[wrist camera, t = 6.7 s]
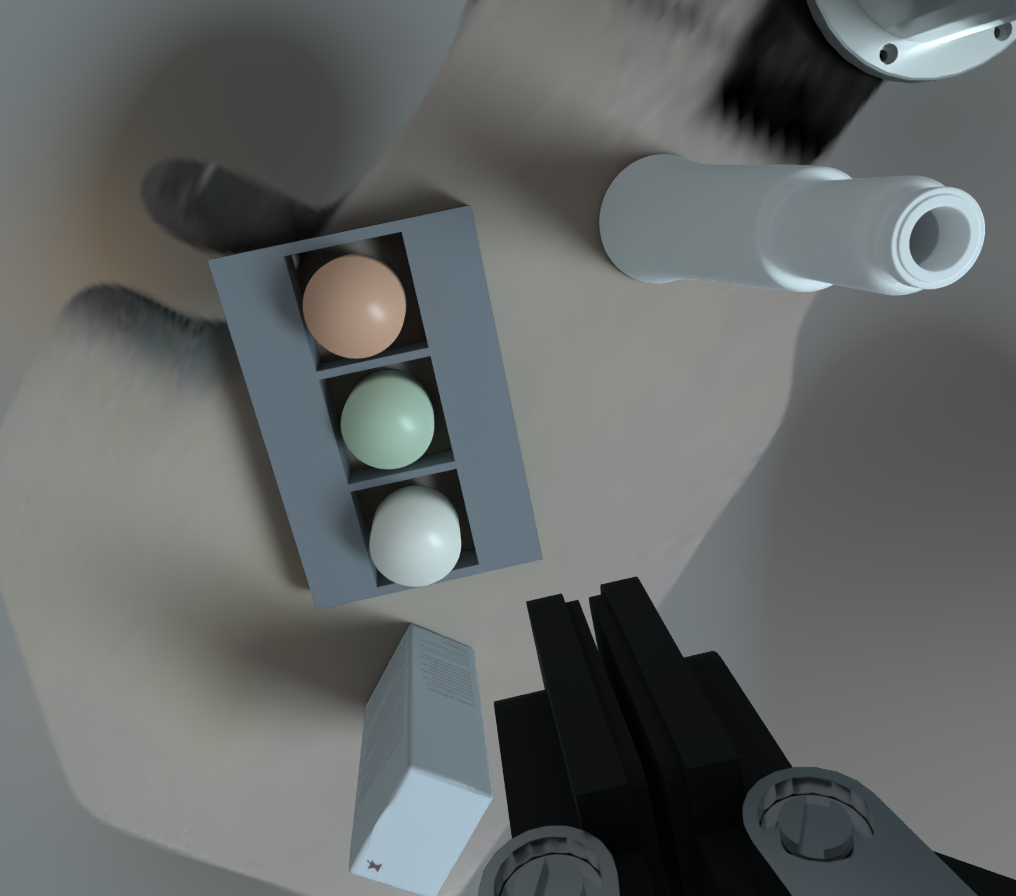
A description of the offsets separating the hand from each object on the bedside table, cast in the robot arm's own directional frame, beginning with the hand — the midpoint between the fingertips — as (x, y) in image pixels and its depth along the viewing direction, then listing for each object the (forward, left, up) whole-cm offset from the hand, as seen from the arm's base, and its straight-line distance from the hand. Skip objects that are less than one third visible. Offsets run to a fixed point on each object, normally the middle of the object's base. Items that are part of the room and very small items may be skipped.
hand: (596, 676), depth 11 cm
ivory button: (+5, +8, -27) cm, 29 cm away
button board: (+5, +2, -29) cm, 30 cm away
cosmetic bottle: (-10, -4, -29) cm, 31 cm away
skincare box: (+7, +18, -29) cm, 35 cm away
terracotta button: (+5, -3, -28) cm, 28 cm away
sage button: (+5, +3, -29) cm, 29 cm away
